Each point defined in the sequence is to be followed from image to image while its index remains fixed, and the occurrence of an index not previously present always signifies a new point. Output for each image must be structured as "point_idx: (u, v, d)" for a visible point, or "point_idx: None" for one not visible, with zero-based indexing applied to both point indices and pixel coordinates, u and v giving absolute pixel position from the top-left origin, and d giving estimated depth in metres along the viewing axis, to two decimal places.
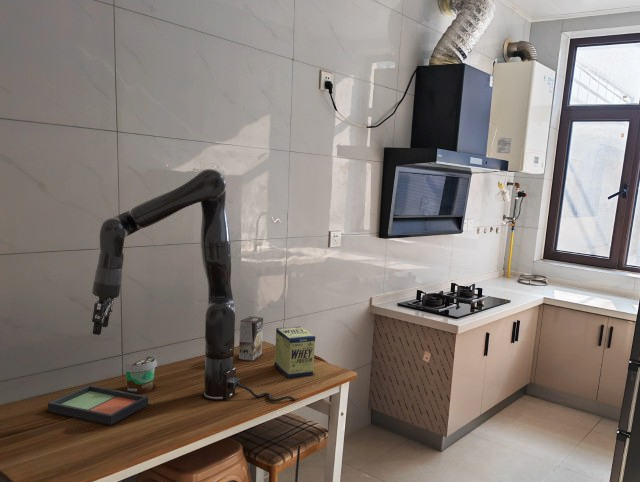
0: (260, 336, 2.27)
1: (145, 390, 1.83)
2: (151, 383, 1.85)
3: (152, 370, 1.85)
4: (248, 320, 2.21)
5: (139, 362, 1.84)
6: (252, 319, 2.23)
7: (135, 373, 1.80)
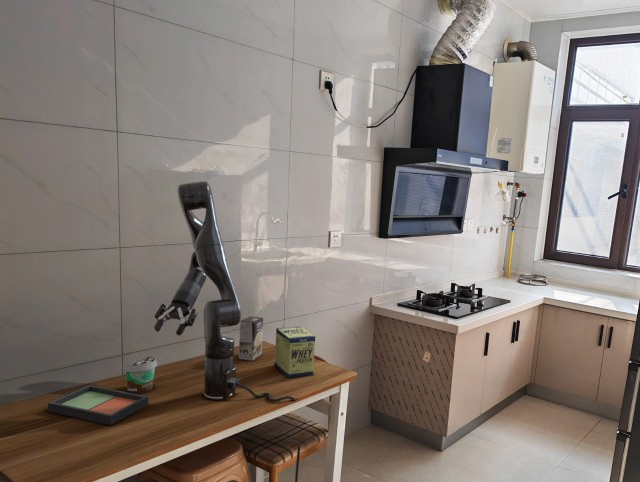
0: (260, 336, 2.27)
1: (145, 390, 1.83)
2: (151, 383, 1.85)
3: (152, 370, 1.85)
4: (248, 320, 2.21)
5: (139, 362, 1.84)
6: (252, 319, 2.23)
7: (135, 373, 1.80)
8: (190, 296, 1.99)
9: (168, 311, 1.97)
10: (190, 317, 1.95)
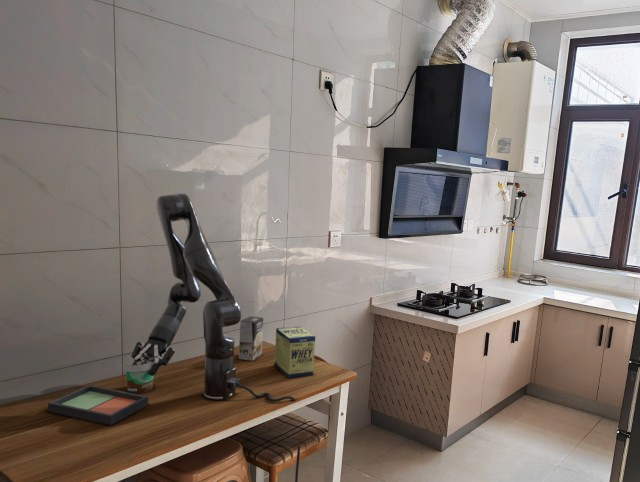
0: (260, 336, 2.27)
1: (145, 390, 1.83)
2: (151, 383, 1.85)
3: None
4: (248, 320, 2.21)
5: (139, 362, 1.84)
6: (252, 319, 2.23)
7: (135, 373, 1.80)
8: (168, 332, 1.89)
9: (144, 348, 1.86)
10: (165, 356, 1.84)
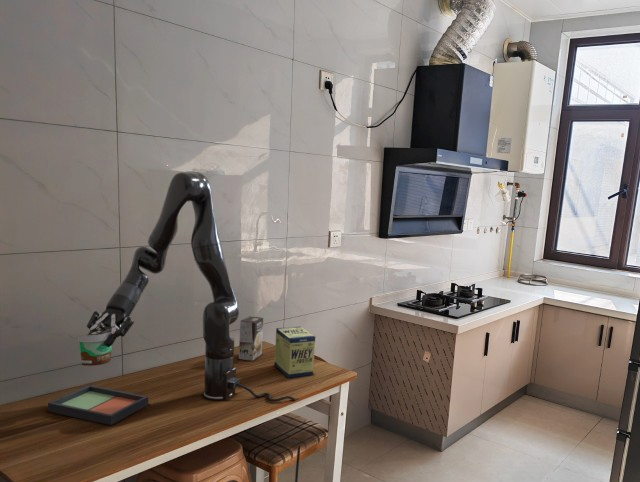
0: (260, 336, 2.27)
1: (101, 363, 1.70)
2: (108, 355, 1.72)
3: None
4: (248, 320, 2.21)
5: (95, 332, 1.70)
6: (252, 319, 2.23)
7: (89, 344, 1.66)
8: (127, 301, 1.75)
9: (101, 318, 1.72)
10: (122, 326, 1.70)
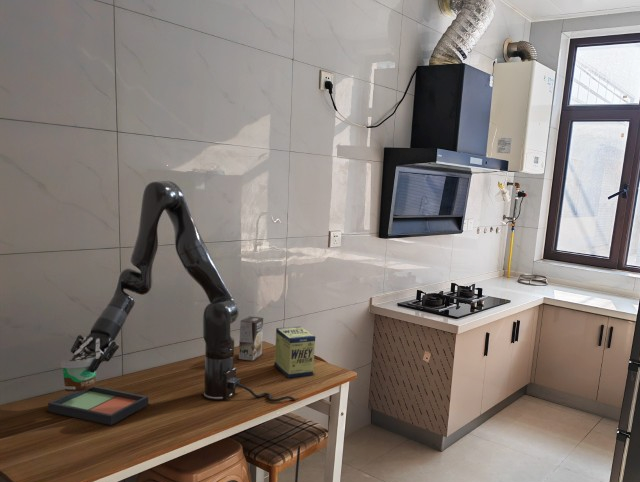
0: (260, 336, 2.27)
1: (85, 388, 1.67)
2: (92, 380, 1.69)
3: None
4: (248, 320, 2.21)
5: (78, 357, 1.67)
6: (252, 319, 2.23)
7: (73, 369, 1.63)
8: (112, 325, 1.72)
9: (85, 343, 1.70)
10: (107, 351, 1.67)
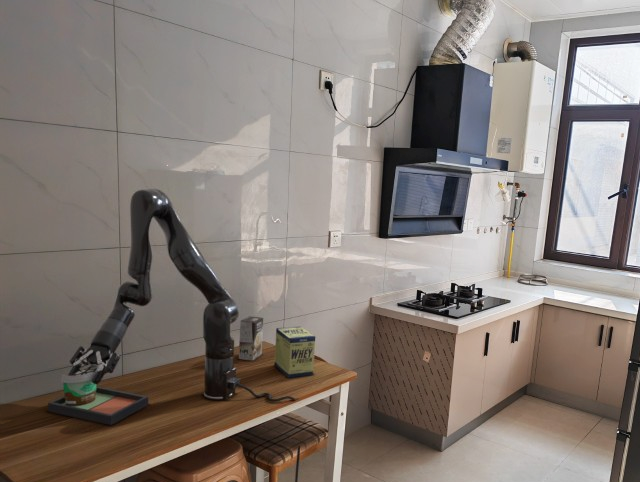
0: (260, 336, 2.27)
1: (85, 403, 1.68)
2: (92, 395, 1.70)
3: None
4: (248, 320, 2.21)
5: (79, 372, 1.68)
6: (252, 319, 2.23)
7: (73, 384, 1.64)
8: (112, 337, 1.73)
9: (85, 355, 1.70)
10: (109, 363, 1.68)
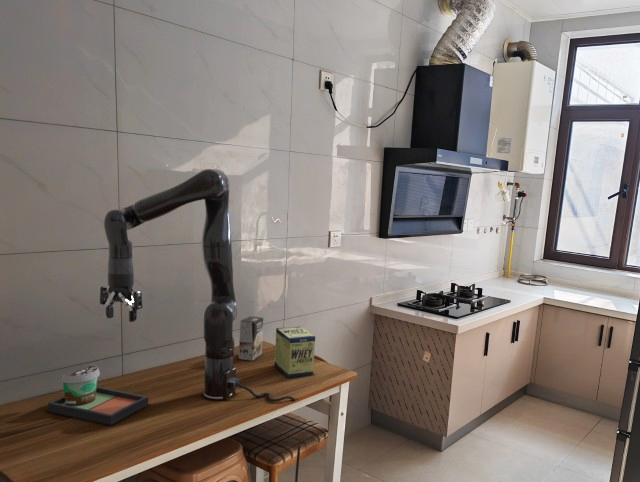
0: (260, 336, 2.27)
1: (85, 403, 1.68)
2: (92, 395, 1.70)
3: (93, 381, 1.69)
4: (248, 320, 2.21)
5: (79, 372, 1.68)
6: (252, 319, 2.23)
7: (73, 384, 1.64)
8: None
9: None
10: None
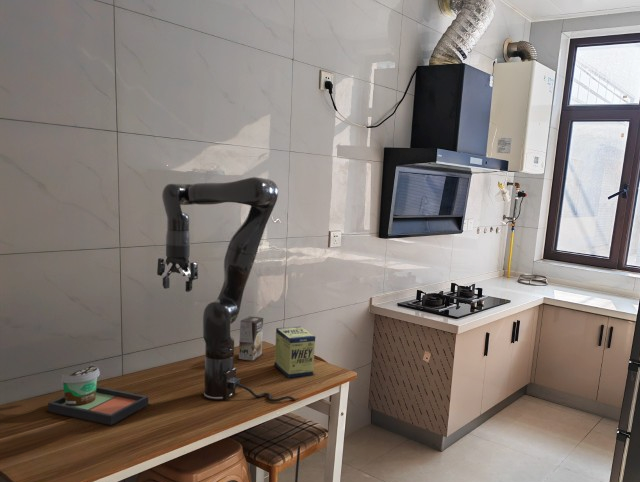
0: (260, 336, 2.27)
1: (85, 403, 1.68)
2: (92, 395, 1.70)
3: (93, 381, 1.69)
4: (248, 320, 2.21)
5: (79, 372, 1.68)
6: (252, 319, 2.23)
7: (73, 384, 1.64)
8: None
9: None
10: None
